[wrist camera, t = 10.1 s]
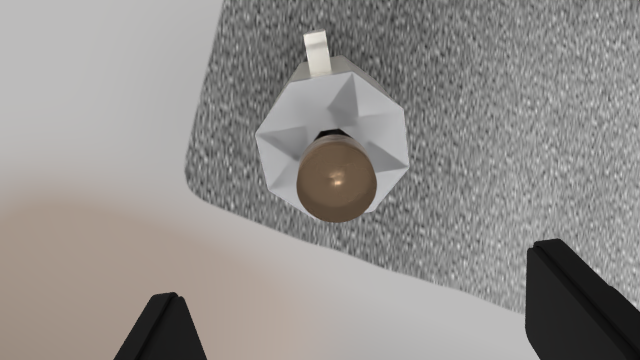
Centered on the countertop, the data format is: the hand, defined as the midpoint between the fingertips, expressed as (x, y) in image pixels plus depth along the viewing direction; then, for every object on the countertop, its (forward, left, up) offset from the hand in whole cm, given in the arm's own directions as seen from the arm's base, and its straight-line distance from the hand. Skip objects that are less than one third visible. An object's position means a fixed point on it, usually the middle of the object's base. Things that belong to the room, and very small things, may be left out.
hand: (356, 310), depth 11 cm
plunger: (0, 0, -27) cm, 27 cm away
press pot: (-1, 0, -28) cm, 28 cm away
